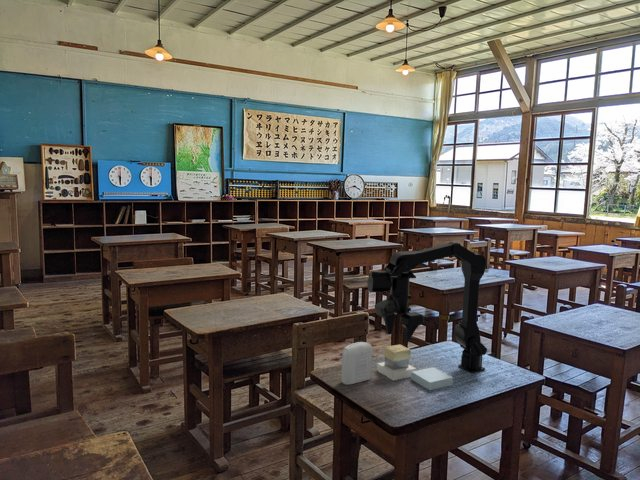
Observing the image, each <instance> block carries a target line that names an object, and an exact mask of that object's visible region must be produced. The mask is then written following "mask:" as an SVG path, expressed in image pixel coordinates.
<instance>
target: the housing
mask: <svg viewBox="0 0 640 480" xmlns="http://www.w3.org/2000/svg"><path fill="white" fill-rule="evenodd" d="M411 351H412V350H411V349H410V348H408V347H406V346H405V345H402V344H394V345H389V346H388V345H387V346H384V347H383V357H384V362H385V365H386V366H387V367H389V368H391V369H392V370H397V369H402V368H407V367H409V365H410V364H409V363H410V359H411Z"/></svg>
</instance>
